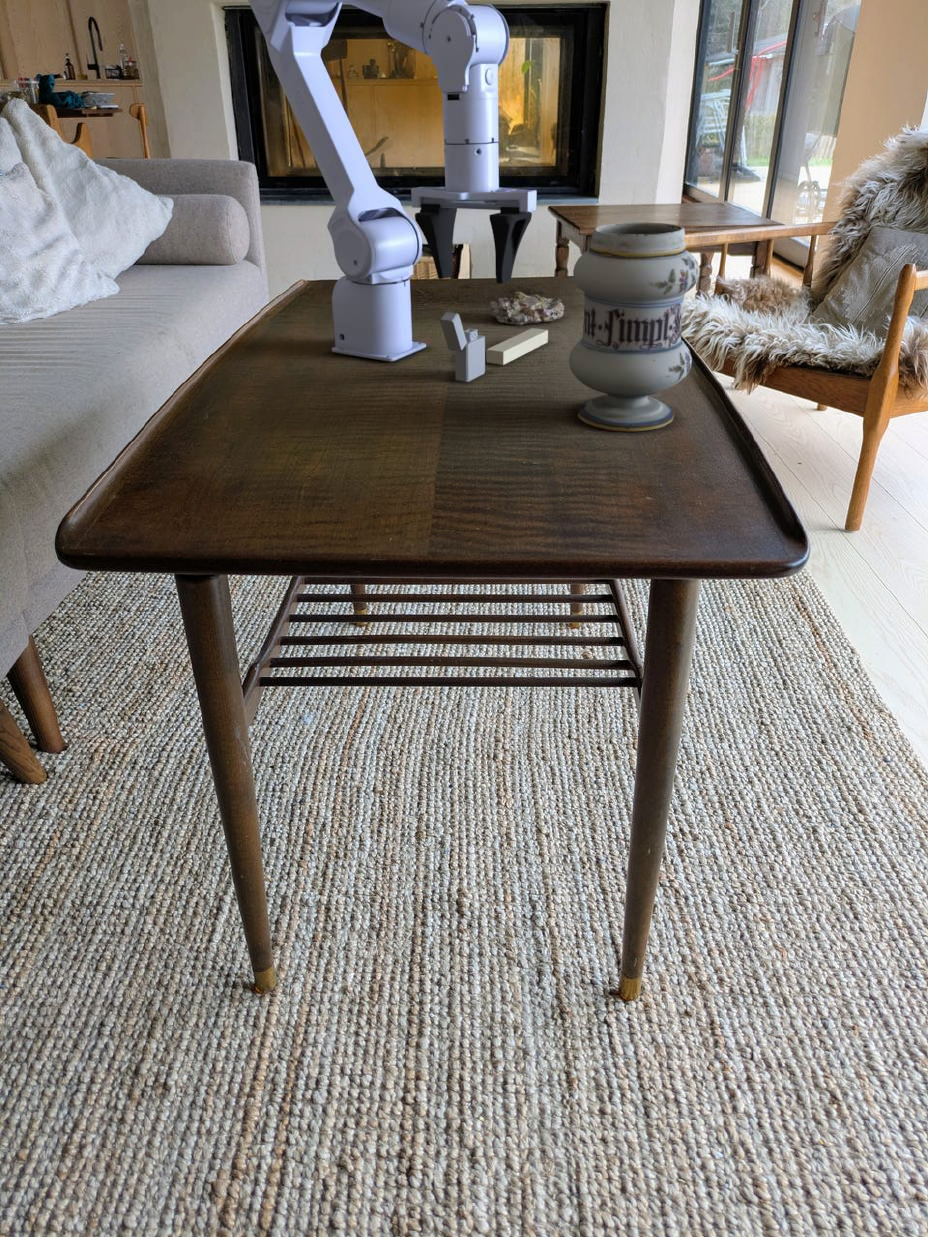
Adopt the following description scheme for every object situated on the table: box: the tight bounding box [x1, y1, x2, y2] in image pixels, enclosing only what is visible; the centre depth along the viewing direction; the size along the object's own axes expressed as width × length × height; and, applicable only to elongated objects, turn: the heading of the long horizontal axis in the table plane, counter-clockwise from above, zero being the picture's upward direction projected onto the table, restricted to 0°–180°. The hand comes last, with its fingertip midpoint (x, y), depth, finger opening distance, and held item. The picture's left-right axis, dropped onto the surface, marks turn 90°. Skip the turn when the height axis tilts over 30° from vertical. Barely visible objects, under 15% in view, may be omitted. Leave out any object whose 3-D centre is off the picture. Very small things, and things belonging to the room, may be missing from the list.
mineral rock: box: [489, 291, 565, 326], centre depth 128 cm, size 11×4×8 cm
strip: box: [485, 327, 549, 366], centre depth 113 cm, size 2×12×2 cm, turn 149°
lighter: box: [439, 311, 486, 383], centre depth 102 cm, size 7×2×8 cm, turn 149°
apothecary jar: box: [568, 221, 701, 433], centre depth 88 cm, size 12×12×18 cm
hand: (474, 279), depth 101 cm, fingers open, 7 cm apart
